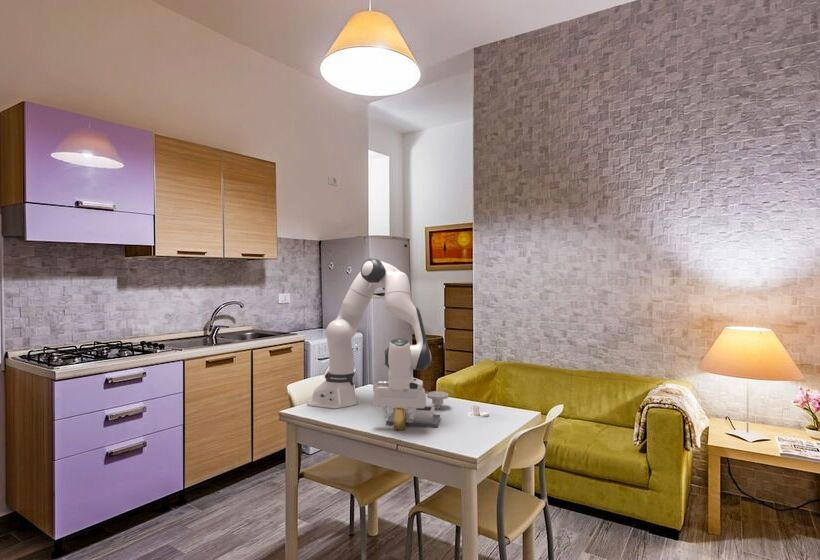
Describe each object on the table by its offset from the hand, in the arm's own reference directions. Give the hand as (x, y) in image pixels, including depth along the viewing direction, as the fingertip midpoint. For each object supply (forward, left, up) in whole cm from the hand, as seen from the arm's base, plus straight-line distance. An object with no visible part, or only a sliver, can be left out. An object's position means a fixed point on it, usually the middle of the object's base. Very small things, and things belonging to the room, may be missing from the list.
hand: (399, 418), depth 174 cm
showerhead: (+11, +31, -4) cm, 33 cm away
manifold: (+4, +10, -4) cm, 11 cm away
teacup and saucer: (+29, +21, -5) cm, 36 cm away
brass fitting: (0, 0, -4) cm, 4 cm away
